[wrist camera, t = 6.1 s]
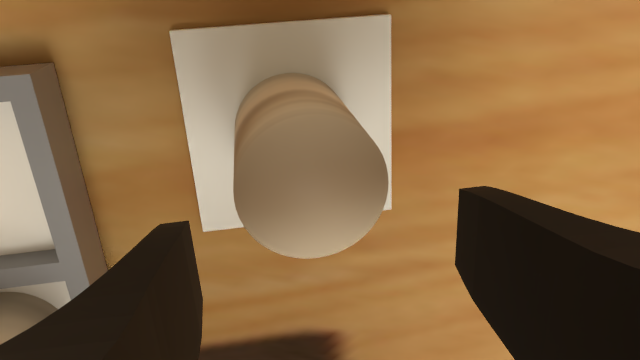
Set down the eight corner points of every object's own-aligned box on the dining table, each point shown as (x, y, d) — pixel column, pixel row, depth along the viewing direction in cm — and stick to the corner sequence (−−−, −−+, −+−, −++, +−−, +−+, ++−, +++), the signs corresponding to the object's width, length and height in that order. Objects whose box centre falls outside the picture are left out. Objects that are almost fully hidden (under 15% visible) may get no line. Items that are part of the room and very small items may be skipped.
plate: (388, 205, 22) (391, 209, 22) (203, 227, 21) (203, 231, 21) (387, 13, 19) (391, 14, 18) (170, 29, 18) (169, 31, 18)
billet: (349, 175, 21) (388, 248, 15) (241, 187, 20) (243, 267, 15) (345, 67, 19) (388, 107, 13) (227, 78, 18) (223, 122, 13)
